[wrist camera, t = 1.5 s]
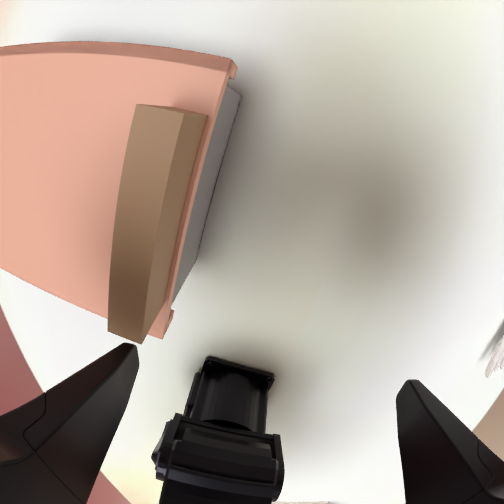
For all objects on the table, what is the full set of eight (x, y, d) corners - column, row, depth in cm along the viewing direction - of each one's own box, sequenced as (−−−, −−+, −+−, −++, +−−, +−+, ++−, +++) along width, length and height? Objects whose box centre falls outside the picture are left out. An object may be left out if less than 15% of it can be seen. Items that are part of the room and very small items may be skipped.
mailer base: (241, 95, 18) (222, 82, 11) (195, 260, 23) (166, 315, 16) (50, 67, 17) (-13, 64, 11) (31, 205, 22) (-23, 234, 15)
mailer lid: (237, 67, 12) (214, 38, 7) (172, 318, 18) (142, 381, 13) (0, 51, 11) (-57, 50, 6) (-14, 239, 17) (-60, 268, 12)
